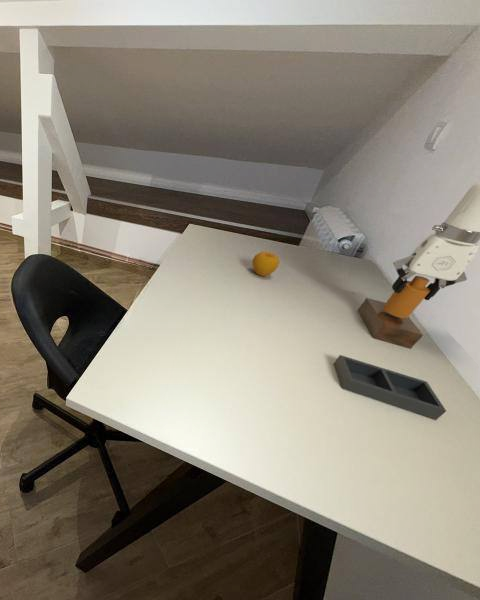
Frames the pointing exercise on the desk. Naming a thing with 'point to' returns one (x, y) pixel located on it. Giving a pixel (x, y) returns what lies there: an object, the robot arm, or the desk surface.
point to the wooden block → (388, 325)
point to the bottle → (407, 298)
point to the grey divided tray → (388, 387)
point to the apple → (265, 263)
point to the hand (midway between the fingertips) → (409, 293)
